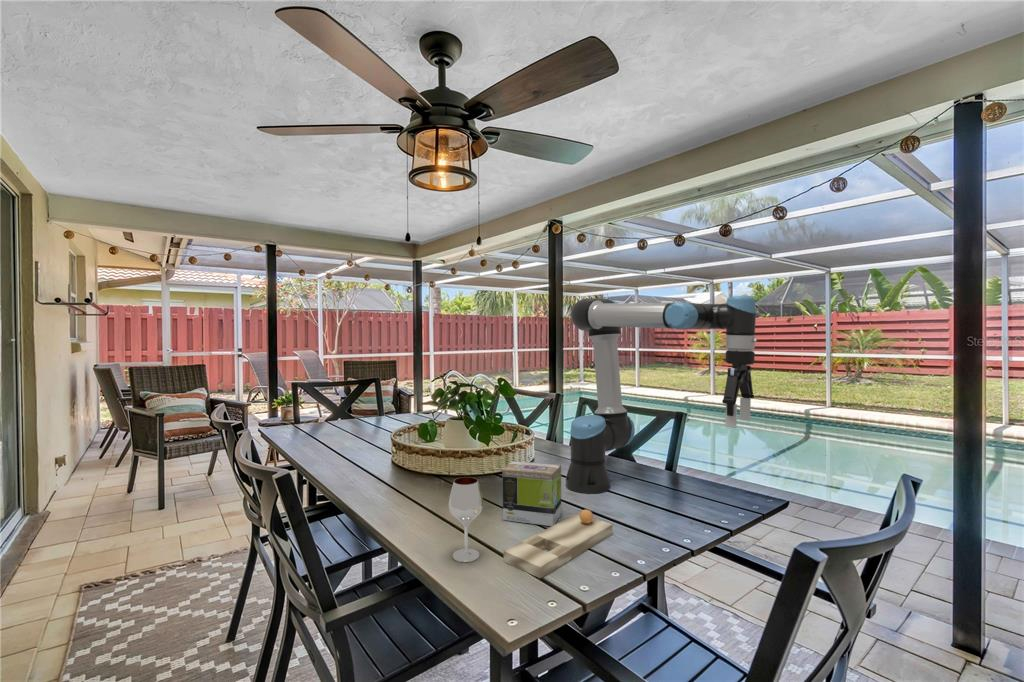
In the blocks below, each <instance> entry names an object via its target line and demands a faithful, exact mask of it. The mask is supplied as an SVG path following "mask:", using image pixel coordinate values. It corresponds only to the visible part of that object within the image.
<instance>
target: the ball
mask: <svg viewBox="0 0 1024 682" xmlns="http://www.w3.org/2000/svg"><path fill="white" fill-rule="evenodd" d="M579 514H580V520H581V521H582V522H583V523H585V524H588V523H590V522H591V521H592V520H593V518H594V515H593V512H592V511H591V510H590V509H583V510H581V512H580V513H579Z"/></svg>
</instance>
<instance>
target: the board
mask: <svg viewBox="0 0 1024 682" xmlns="http://www.w3.org/2000/svg"><path fill="white" fill-rule="evenodd" d="M612 534H613V524H612V523H609V522H606V521H602V520H600V519H597V518H594V517H593V520H592V521H591V522H590V523H588V524H585V523H583V522H582V521H581V520H580V513H575V514H573V515H572V516H569V517H568V518H565V519H563V520H561V521H560V522H556V523H555V525H553V526H548V528H545V529H543V530H542V531H540V532H537V533H536V534H534V535H532V536H530V537H528V538H526V539H524V540H521V541H520V542H518V543H517V544H514V545H513V546H510V547H508V548H506V549H505V550H503V562H504V563H506V564H508V565H510V566H512V567H515V568H517V569H519V570H521V571H523V572H525V573H527V574H529V575H531V576H534V577H537V578H538V579H542V578H543V577H545V576H547V575H549V574H550V573H551V572H553V571H555V570H556V569H557V568H560V567H562V566H563V565H565V564H566V563H567V562H569V561H570V560H572V559H575V558H576V557H578V556H579V555H581V554H582V553H584V552H585V551H587V550H588V549H591V548H592V547H593V546H596V544H598V543H600V542H601V541H602V540H605V539H607V538H608V537H609V536H611V535H612ZM546 550H547V551H546Z"/></svg>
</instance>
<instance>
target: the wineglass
mask: <svg viewBox="0 0 1024 682" xmlns="http://www.w3.org/2000/svg"><path fill="white" fill-rule="evenodd" d="M480 486H481V485H480V483H479V479H477V478H475V477H471V476H464V477H463V476H462V477H458V478H456V479H454V480H453V483H452V487H451V490H450V494H449V498H448V499H449V500H448V511H449V512H450V513H451V515H452V516H453V517H454V518H455V519H457V521H459V522H460V523H461V524H462V525H463V527H464V531H463V532H464V538H463V539H464V542H463V543H464V544H463V545H464V548H461V549H458V550H455V551H454V552H453V553H452V559H454V561H455V562H460V563H470V562H473V561H476V560H477V559H479V558H480V552H479V551H478V550H476V549H475V548H469V541H468V539H469V537H468V536H469V535H468V533H469V532H468V531H469V528H468V527H469V525H470V523H471V522H473V520H475V519H476V518H477V517H478V516H479V515H480V514H481V512H482V510H483V507H484V498H483V493H482V490H481V487H480Z"/></svg>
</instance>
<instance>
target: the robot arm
mask: <svg viewBox="0 0 1024 682" xmlns="http://www.w3.org/2000/svg"><path fill="white" fill-rule="evenodd" d="M756 304H757V303H756V299H755V297H753V296H751V295H735V296H728V297H727V298H726V303H695V302H694V303H693V302H687V301H677V302H628V303H627V302H624V303H623V302H622V303H619V302H618V301H617V300H612V299H608V298H588V297H586V298H582V299H580V300H578V301H576V302H575V303H574V304H573V306H572V308H571V311H570V319H571V322H572V324H573V325H574V326H575V327H576V329H578V330H581V331H584V332H587V333H588V334H587V335H588V339H590V340H591V341H592V346H593V348H592V349H593V355H594V356H593V358H594V370H595V371H594V372H595V385H596V397H597V406H598V407H597V408H596V410H594V414H588V415H581V416H577V417H576V418H574V419H573V420H572V421H571V424H570V430H569V431H570V433H569V434H570V464H569V467H568V470H567V474H566V476H565V487H566V488H567V489H569V490H571V491H573V492H577V493H581V494H600V493H604V492H607V491H609V490H610V489H611V478H610V476H609V472H608V469H607V465H606V452H609V451H610V452H611V451H612V450H616V449H622V448H624V447H625V446H627V445H629V444H630V443H631V442H632V440H633V439H634V436H635V433H636V431H635V430H636V429H635V428H636V427H635V423H634V421H633V420H632V419H631V416H629V415H628V410H627V409H626V407H624V406H623V400H622V399H623V398H622V387H621V374H620V373H621V372H620V363H619V350H618V339H619V338H620V337H621V333H622V332H621V329H622V328H646V329H648V328H649V329H672V330H683V331H684V330H725V333H726V334H725V349H727V350H726V351H725V363H726V364H730V365H732V366H731V367H727V376H726V382H725V388H724V393H723V399H722V404H725V419H724V420H725V424H724V426H725V427H726V428H733V429H737V423H738V422H737V419H738V418H737V414H738V413H737V412H738V404H737V399H738V395H739V392H740V395H741V397H740V399H739V420H743V421H750V420H751V405H752V404H751V402H752V401H751V400H752V399H754V398H755V395H754V392H753V391H754V390H753V389H754V388H753V383H752V382H753V381H752V371H751V370H752V369H751V368H752V367H751V366H752V365H754V364H755V358H756V357H755V355H756V354H755V351H753V350H755V346H756V343H757V342H758V339H756V321H757V320H756V316H757V311H756V310H757V309H756V308H757V307H756Z"/></svg>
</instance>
